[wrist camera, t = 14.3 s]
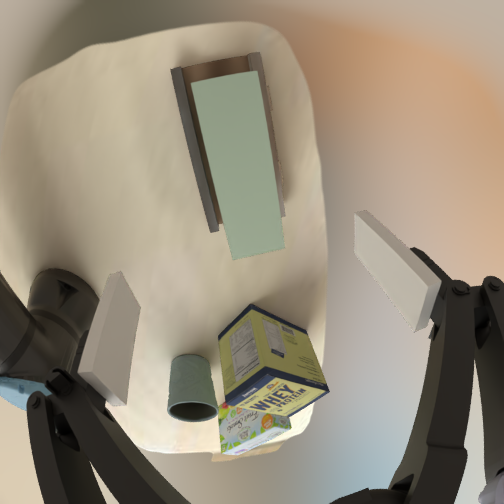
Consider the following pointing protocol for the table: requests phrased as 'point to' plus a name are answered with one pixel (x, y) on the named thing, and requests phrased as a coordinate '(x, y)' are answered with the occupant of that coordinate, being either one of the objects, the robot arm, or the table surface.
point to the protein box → (269, 364)
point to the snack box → (247, 428)
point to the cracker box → (240, 161)
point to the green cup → (191, 390)
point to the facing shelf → (194, 134)
